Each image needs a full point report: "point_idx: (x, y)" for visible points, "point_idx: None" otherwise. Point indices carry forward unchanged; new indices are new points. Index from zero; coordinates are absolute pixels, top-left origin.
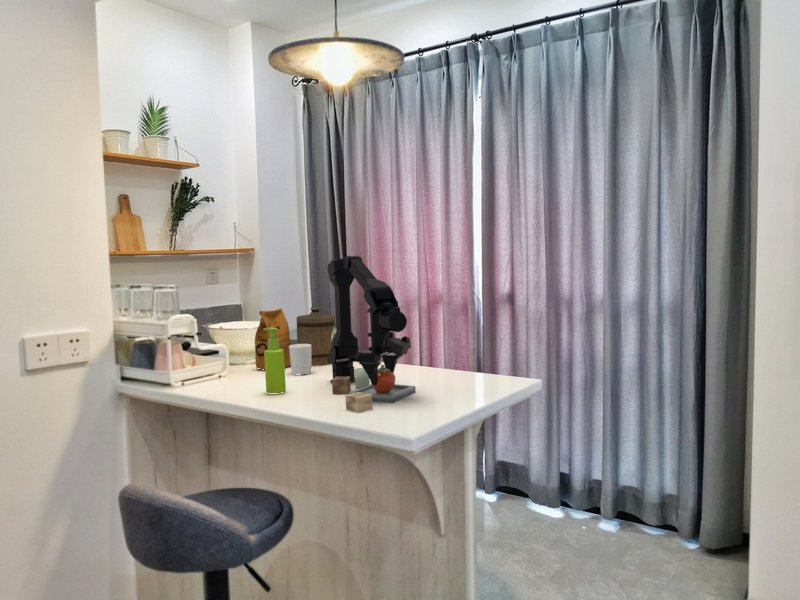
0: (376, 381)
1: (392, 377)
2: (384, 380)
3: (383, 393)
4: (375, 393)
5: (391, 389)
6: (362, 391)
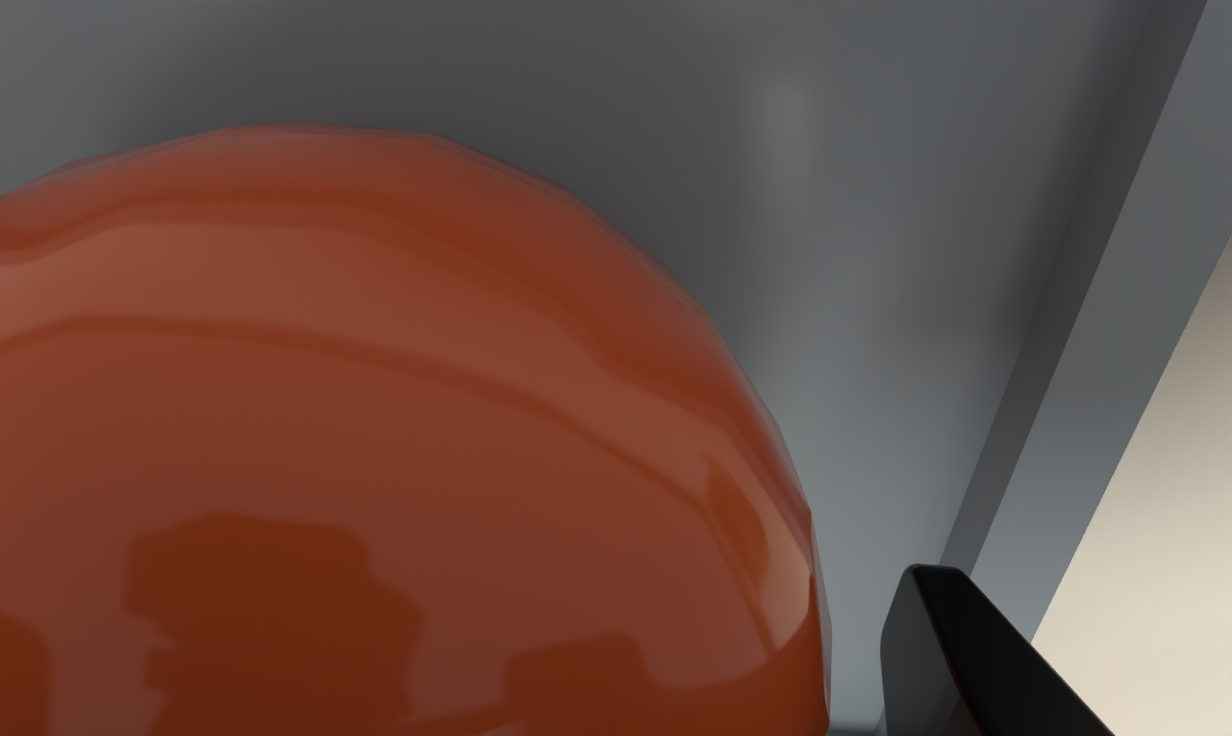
0: (985, 650)
1: (321, 277)
2: (763, 458)
3: None
4: None
5: None
6: None
